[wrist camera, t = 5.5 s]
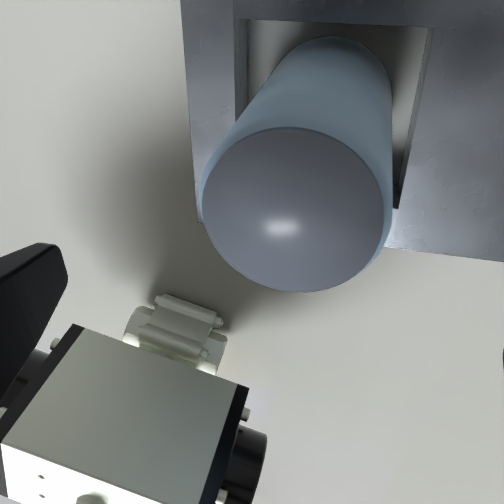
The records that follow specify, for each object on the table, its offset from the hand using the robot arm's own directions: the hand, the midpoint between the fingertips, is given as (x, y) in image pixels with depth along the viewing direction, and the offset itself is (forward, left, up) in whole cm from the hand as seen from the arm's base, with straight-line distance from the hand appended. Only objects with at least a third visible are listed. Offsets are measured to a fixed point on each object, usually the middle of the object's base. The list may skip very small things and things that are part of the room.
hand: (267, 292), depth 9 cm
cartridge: (0, 0, -12) cm, 12 cm away
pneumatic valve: (+7, +13, -12) cm, 19 cm away
